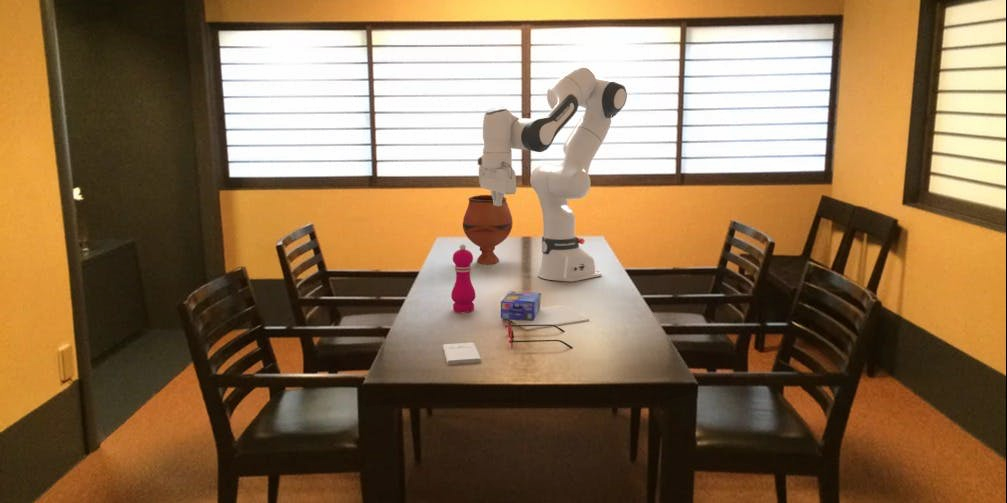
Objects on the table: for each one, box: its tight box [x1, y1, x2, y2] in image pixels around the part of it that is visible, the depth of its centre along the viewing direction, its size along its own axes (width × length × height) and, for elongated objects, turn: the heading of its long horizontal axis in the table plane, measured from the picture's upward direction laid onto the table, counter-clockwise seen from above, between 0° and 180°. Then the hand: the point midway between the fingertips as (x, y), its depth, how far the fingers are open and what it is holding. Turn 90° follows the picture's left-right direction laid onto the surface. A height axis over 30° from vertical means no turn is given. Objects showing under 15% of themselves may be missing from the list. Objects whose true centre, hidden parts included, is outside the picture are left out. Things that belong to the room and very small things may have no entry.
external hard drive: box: [442, 342, 482, 365], centre depth 188 cm, size 2×8×12 cm
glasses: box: [504, 319, 574, 349], centre depth 198 cm, size 14×16×5 cm
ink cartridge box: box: [500, 290, 542, 321], centre depth 218 cm, size 10×6×14 cm
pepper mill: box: [450, 243, 476, 313], centre depth 224 cm, size 7×7×20 cm
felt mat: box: [508, 304, 590, 331], centre depth 218 cm, size 20×16×1 cm
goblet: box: [462, 194, 513, 265], centre depth 287 cm, size 19×19×25 cm
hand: (497, 205), depth 236 cm, fingers closed
